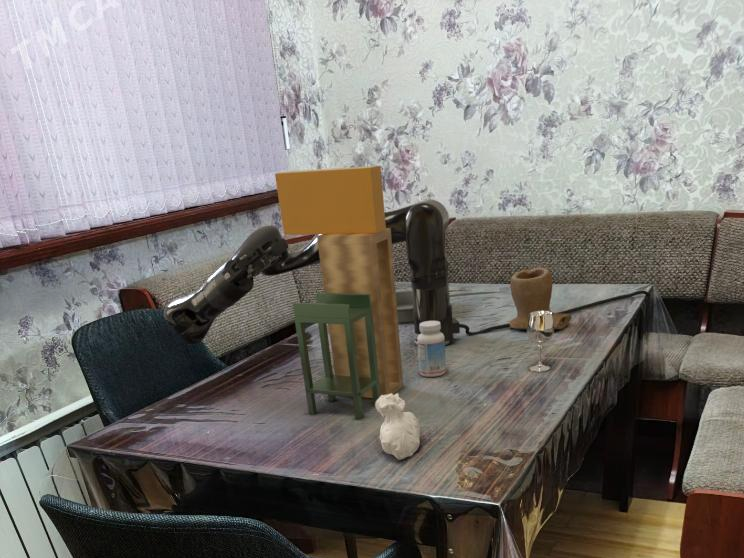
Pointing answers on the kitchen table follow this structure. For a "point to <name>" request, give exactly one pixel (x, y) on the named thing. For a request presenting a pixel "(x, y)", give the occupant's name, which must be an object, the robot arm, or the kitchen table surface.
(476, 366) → the kitchen table surface
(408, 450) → the white tied sack
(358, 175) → the book
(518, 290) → the brown clay vessel
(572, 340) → the kitchen table surface
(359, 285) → the tall stand
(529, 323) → the wineglass
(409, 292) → the cake pan
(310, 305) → the book rack
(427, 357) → the pill bottle
